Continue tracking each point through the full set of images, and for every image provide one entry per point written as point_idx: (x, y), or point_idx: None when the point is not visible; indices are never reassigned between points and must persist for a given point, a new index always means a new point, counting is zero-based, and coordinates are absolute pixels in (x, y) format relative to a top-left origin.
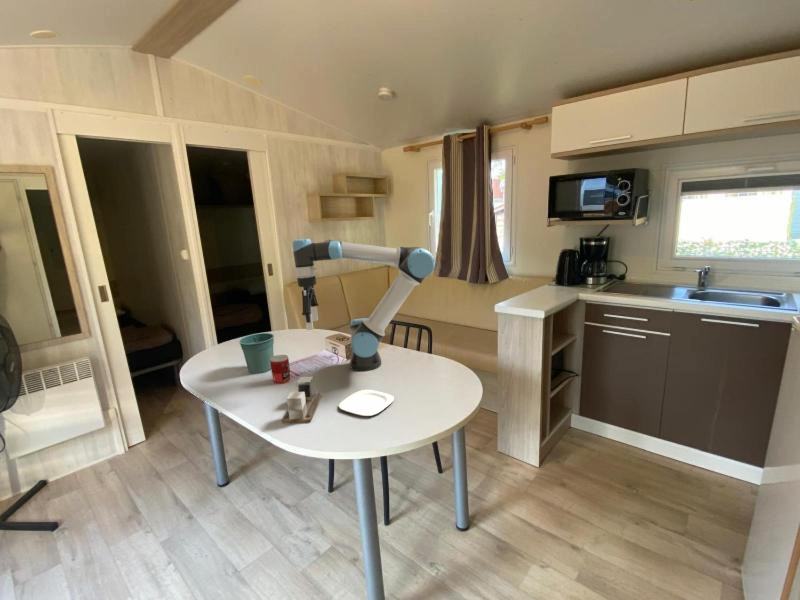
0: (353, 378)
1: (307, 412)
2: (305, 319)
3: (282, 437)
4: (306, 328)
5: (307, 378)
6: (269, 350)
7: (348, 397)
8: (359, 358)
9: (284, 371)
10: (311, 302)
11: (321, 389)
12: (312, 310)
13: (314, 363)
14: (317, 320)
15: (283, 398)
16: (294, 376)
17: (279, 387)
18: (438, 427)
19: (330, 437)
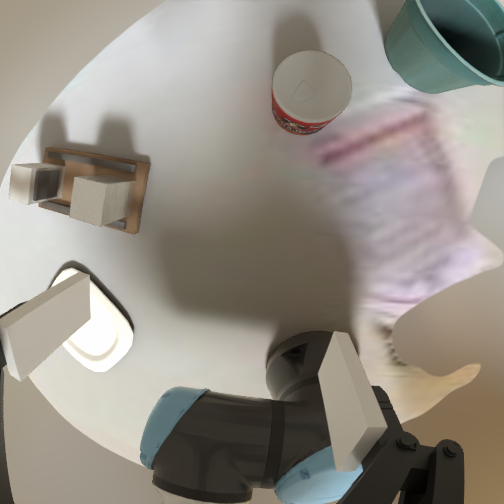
0: (226, 327)
1: (59, 198)
2: (25, 306)
3: (19, 158)
4: (71, 276)
5: (91, 208)
6: (432, 62)
7: (101, 295)
8: (281, 375)
9: (275, 111)
10: (344, 498)
11: (180, 232)
12: (350, 410)
13: (406, 223)
14: (320, 369)
15: (159, 123)
16: (320, 148)
17: (244, 101)
18: (35, 378)
19: (9, 240)
